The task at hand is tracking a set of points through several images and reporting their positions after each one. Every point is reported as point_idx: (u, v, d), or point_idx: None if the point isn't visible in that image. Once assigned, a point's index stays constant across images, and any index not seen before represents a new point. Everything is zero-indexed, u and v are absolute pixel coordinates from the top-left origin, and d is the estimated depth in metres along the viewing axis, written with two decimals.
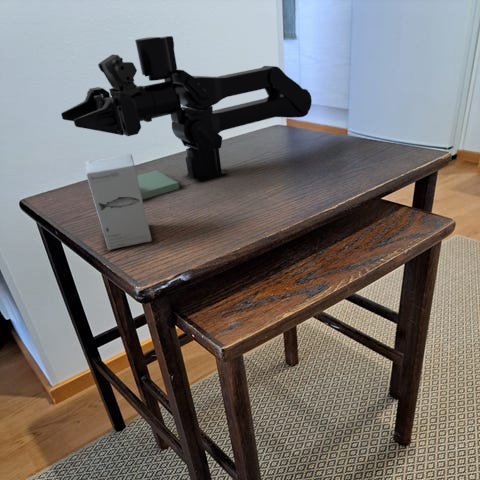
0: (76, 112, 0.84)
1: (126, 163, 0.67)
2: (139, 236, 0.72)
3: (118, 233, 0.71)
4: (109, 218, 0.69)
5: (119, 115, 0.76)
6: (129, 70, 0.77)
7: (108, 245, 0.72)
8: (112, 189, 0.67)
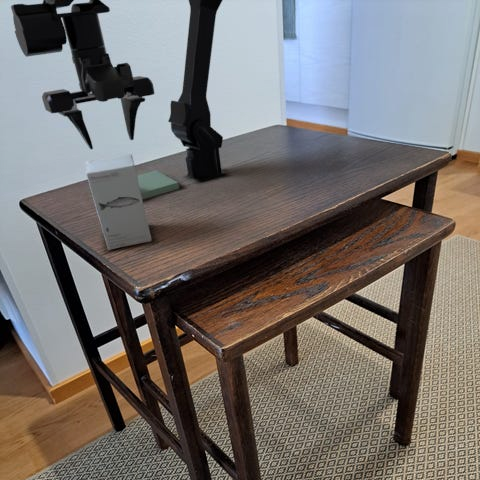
0: None
1: (126, 163, 0.67)
2: (139, 236, 0.72)
3: (118, 233, 0.71)
4: (109, 218, 0.69)
5: None
6: None
7: (108, 245, 0.72)
8: (112, 189, 0.67)
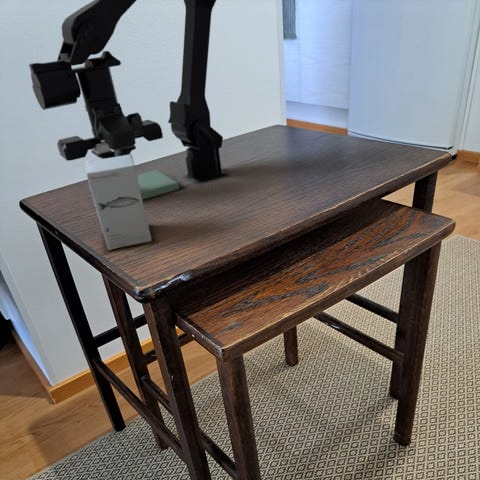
0: None
1: (126, 163, 0.67)
2: (139, 236, 0.72)
3: (118, 233, 0.71)
4: (109, 218, 0.69)
5: None
6: None
7: (108, 245, 0.72)
8: (112, 189, 0.67)
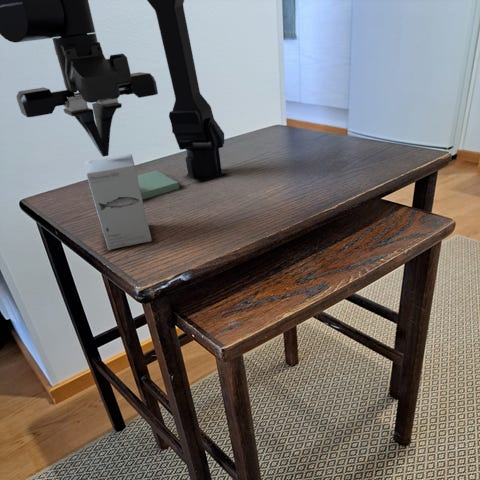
0: None
1: (126, 163, 0.67)
2: (139, 236, 0.72)
3: (118, 233, 0.71)
4: (109, 218, 0.69)
5: None
6: None
7: (108, 245, 0.72)
8: (112, 189, 0.67)
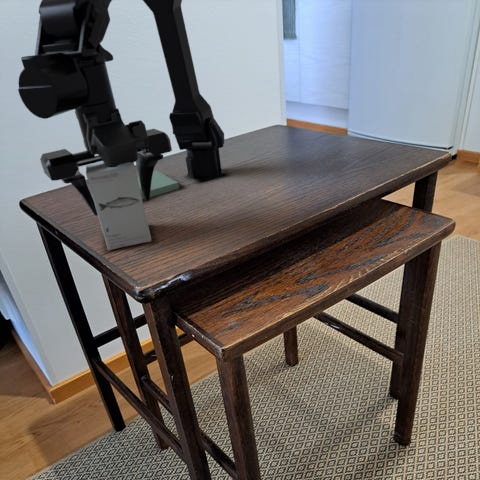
0: None
1: (126, 163, 0.67)
2: (139, 236, 0.72)
3: (118, 233, 0.71)
4: (109, 218, 0.69)
5: None
6: None
7: (108, 245, 0.72)
8: (112, 189, 0.67)
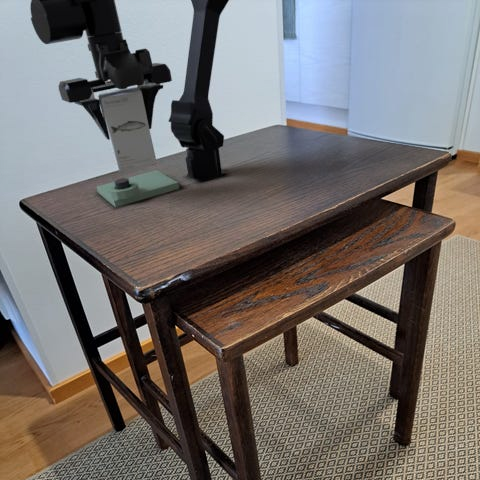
0: None
1: (134, 90, 0.77)
2: (146, 159, 0.83)
3: (128, 155, 0.81)
4: (120, 141, 0.80)
5: None
6: None
7: (119, 167, 0.82)
8: (123, 113, 0.77)
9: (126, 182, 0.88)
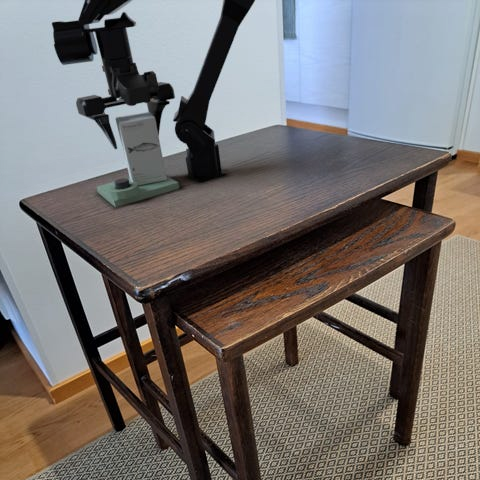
0: None
1: (148, 116, 0.88)
2: (157, 175, 0.93)
3: (142, 172, 0.92)
4: (135, 160, 0.90)
5: None
6: None
7: None
8: (138, 136, 0.88)
9: (126, 182, 0.88)
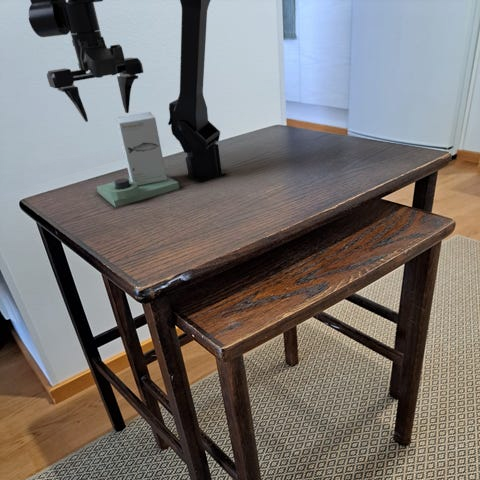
0: None
1: (148, 116, 0.88)
2: (157, 175, 0.93)
3: (142, 172, 0.92)
4: (135, 160, 0.90)
5: None
6: None
7: None
8: (138, 136, 0.88)
9: (126, 182, 0.88)
